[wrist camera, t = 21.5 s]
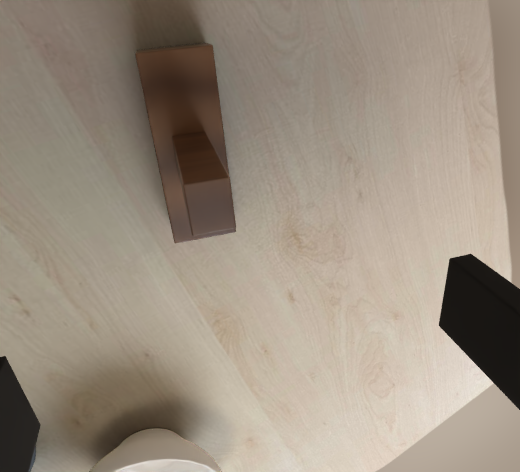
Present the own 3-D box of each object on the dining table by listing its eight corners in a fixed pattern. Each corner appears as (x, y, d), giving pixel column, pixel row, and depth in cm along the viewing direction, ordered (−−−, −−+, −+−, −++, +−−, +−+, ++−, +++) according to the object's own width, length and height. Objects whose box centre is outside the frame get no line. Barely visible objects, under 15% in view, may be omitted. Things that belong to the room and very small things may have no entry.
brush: (136, 49, 30) (130, 69, 18) (205, 42, 30) (243, 56, 19) (172, 225, 36) (185, 322, 25) (228, 215, 37) (267, 304, 25)
